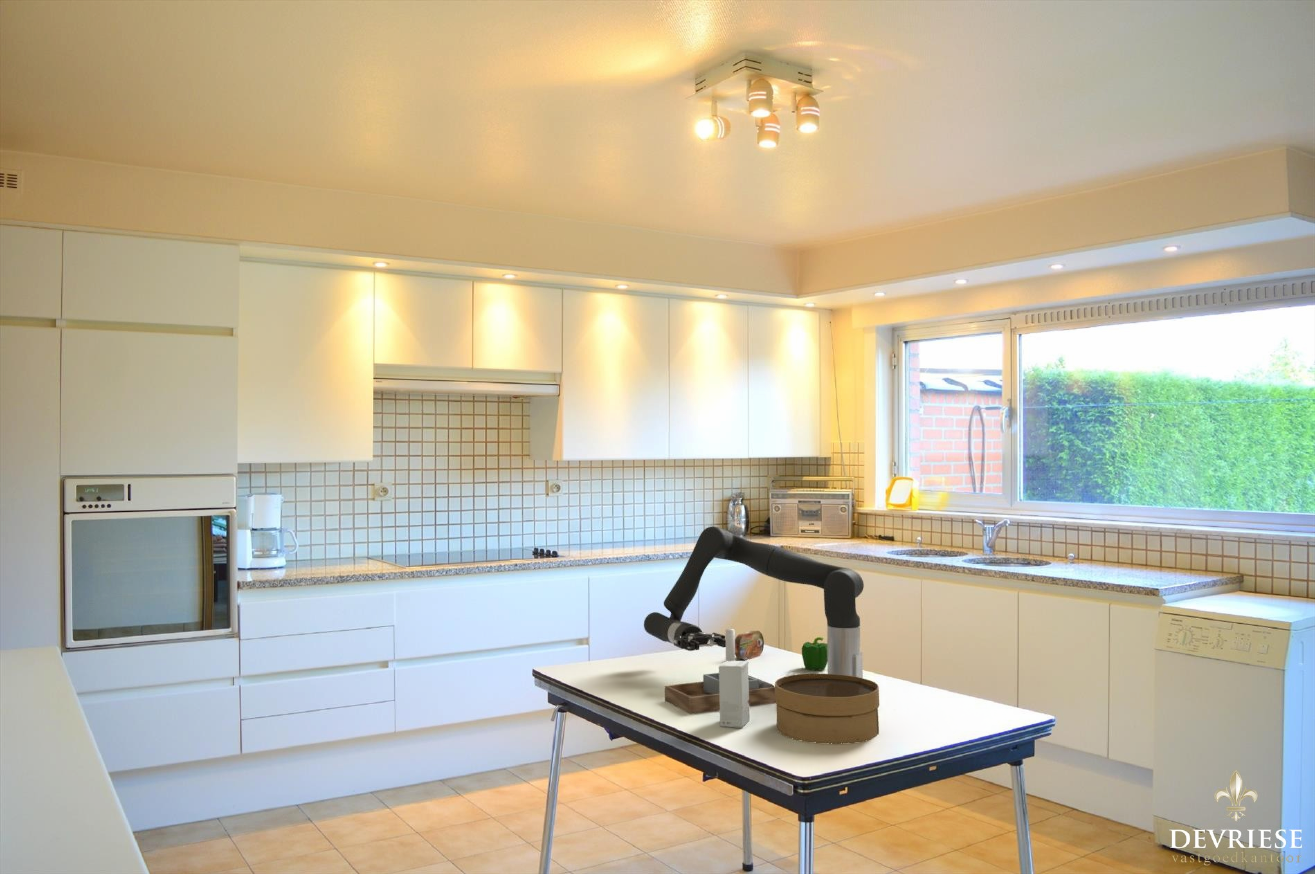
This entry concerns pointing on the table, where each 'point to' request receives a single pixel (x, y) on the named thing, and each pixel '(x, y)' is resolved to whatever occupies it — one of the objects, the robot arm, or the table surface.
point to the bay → (712, 696)
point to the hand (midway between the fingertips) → (711, 644)
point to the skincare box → (734, 693)
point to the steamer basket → (827, 708)
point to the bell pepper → (815, 655)
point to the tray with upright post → (713, 679)
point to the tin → (749, 645)
